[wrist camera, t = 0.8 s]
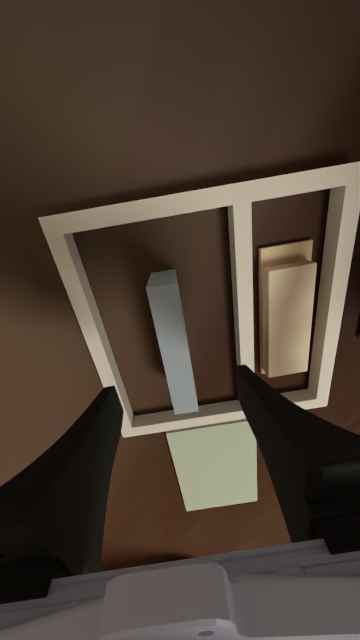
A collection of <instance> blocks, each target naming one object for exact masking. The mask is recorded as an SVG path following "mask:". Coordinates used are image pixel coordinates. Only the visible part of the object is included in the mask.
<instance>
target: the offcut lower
mask: <svg viewBox="0 0 360 640" xmlns="http://www.w3.org/2000/svg"><path fill="white" fill-rule="evenodd" d="M312 245H313V240H310V239H309V240H304V241H298V242H292V243H286V244H281V245H275V246H269V247H263V248H259V335H260V372H261V374H265V371H264V363H263V287H262V268H267V267H273V266H278V265H284V264H289V263H295V262H300V261H306V260H309V261H311V256H312Z"/></svg>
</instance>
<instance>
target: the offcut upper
mask: <svg viewBox="0 0 360 640" xmlns="http://www.w3.org/2000/svg"><path fill="white" fill-rule="evenodd" d="M316 269H317V263H316V262H312V261H309V260H306V261H300V262H295V263H289V264H284V265H278V266H273V267H267V268H262V287H263V363H264V371H265V373H266V374H267V376H268V377H269V378H270V377H276V376H282V375H287V374H293V373H299V372H305V371H307V369H308V358H309V347H310V336H311V324H312V313H313V302H314V291H315V280H316Z"/></svg>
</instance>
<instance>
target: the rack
mask: <svg viewBox="0 0 360 640" xmlns="http://www.w3.org/2000/svg"><path fill="white" fill-rule="evenodd" d="M330 188H331V189H330ZM324 189H330V197H329V206H328V215H327V224H326V233H325V241H324V250H323V259H322V268H321V277H320V286H319V294H318V303H317V312H316V321H315V330H314V339H313V347H312V356H311V365H310V374H309V383H308V389H303V390H296V391H290V392H284V393H280V394H281V395H283V396H284V397H286V398H287V399H288V400H290V401H291V402H293V403H295V404H296V405H298V406H300V407H301V408H303V409H312V408H318V407H324V406H327V403H328V397H329V391H330V385H331V379H332V373H333V367H334V361H335V355H336V349H337V343H338V338H339V332H340V326H341V320H342V314H343V308H344V302H345V296H346V290H347V284H348V278H349V272H350V266H351V260H352V254H353V248H354V242H355V236H356V230H357V224H358V218H359V212H360V162H354V163H348V164H342V165H337V166H331V167H325V168H319V169H314V170H308V171H302V172H297V173H291V174H285V175H279V176H274V177H268V178H262V179H257V180H251V181H245V182H239V183H234V184H228V185H222V186H216V187H211V188H205V189H199V190H194V191H188V192H182V193H176V194H171V195H165V196H159V197H154V198H148V199H142V200H136V201H131V202H125V203H119V204H114V205H108V206H102V207H96V208H91V209H85V210H79V211H73V212H68V213H62V214H56V215H51V216H45V217H39V218H38V219H39V222H40V224H41V227H42V230H43V232H44V235H45V237H46V240H47V242H48V245H49V248H50V250H51V253H52V255H53V258H54V260H55V263H56V266H57V268H58V271H59V273H60V276H61V278H62V281H63V284H64V286H65V289H66V291H67V294H68V297H69V299H70V302H71V304H72V307H73V309H74V312H75V315H76V317H77V320H78V322H79V325H80V327H81V330H82V333H83V335H84V338H85V340H86V343H87V345H88V348H89V351H90V353H91V356H92V358H93V361H94V363H95V366H96V369H97V371H98V374H99V376H100V379H101V381H102V384H103V387H109V386H115V388H116V391H117V394H118V397H119V399H120V402H121V405H122V408H123V410H124V412H123V422H122V429H121V433H122V435H123V438H125V437H131V436H138V435H144V434H151V433H157V432H163V431H170V430H176V429H183V428H189V427H196V426H202V425H209V424H215V423H221V422H228V421H234V420H241V419H246V417H245V415H244V413H243V410H242V408H241V405H240V402H239V400H233V401H226V402H220V403H214V404H207V405H201V406H198V409H199V411H196V412H190V413H183V414H177V415H175V413H174V410H169V411H163V412H156V413H150V414H144V415H137V416H134V415H133V412H132V409H131V406H130V403H129V400H128V397H127V394H126V391H125V388H124V385H123V382H122V379H121V376H120V373H119V370H118V367H117V364H116V362H115V359H114V356H113V353H112V350H111V347H110V344H109V341H108V338H107V335H106V332H105V329H104V326H103V323H102V320H101V317H100V314H99V311H98V308H97V305H96V302H95V299H94V297H93V294H92V291H91V288H90V285H89V282H88V279H87V276H86V273H85V270H84V267H83V264H82V261H81V258H80V255H79V252H78V249H77V246H76V243H75V240H74V237H73V234H72V233H75V232H81V231H87V230H93V229H98V228H104V227H110V226H116V225H122V224H127V223H133V222H139V221H145V220H150V219H156V218H162V217H168V216H174V215H179V214H185V213H191V212H197V211H203V210H208V209H214V208H220V207H226V206H227V207H228V224H229V241H230V258H231V275H232V292H233V309H234V326H235V344H236V361H237V366H238V365H247V366H248V367H249V368H250V369H251V370H252V371H253V372H254V325H253V269H252V213H251V202H255V201H260V200H266V199H272V198H278V197H283V196H289V195H295V194H301V193H307V192H312V191H318V190H324Z"/></svg>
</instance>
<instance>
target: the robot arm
mask: <svg viewBox="0 0 360 640" xmlns="http://www.w3.org/2000/svg"><path fill="white" fill-rule="evenodd" d="M359 338H360V335H359ZM235 377H236V393H237V396H238V399H239V402H240V405H241V408H242V410H243V413H244V415H245V417H246V419H247V421H248V423H249V426H250V428H251V430H252V432H253V434H254V436H255V439H256V441H257V443H258V445H259V447H260V450H261V452H262V455H263V458H264V460H265V463H266V466H267V469H268V472H269V475H270V477H271V480H272V483H273V486H274V489H275V492H276V495H277V498H278V501H279V504H280V507H281V510H282V513H283V516H284V519H285V522H286V526H287V529H288V532H289V535H290V538H291V541H292V543H289V544H283V545H276V546H270V547H263V548H256V549H250V550H243V551H236V552H230V553H223V554H216V555H210V556H203V557H196V558H190V559H183V560H176V561H170V562H163V563H156V564H150V565H143V566H137V567H130V568H123V569H117V570H110V571H103V572H100V567H101V555H102V543H103V533H104V523H105V514H106V506H107V498H108V491H109V484H110V477H111V472H112V467H113V463H114V459H115V455H116V450H117V446H118V442H119V438H120V434H121V429H122V422H123V412H124V410H123V408H122V405H121V402H120V399H119V397H118V394H117V391H116V388H115V386H109V387H104V388H103V390H102V391H101V392H100V393H99V394H98V396H97V397H96V398H95V399H94V401H93V402H92V403H91V404H90V406H89V407H88V408H87V409H86V410H85V412H84V413H83V414H82V415H81V416H80V417H79V418H78V420H77V421H76V422H75V423H74V424H73V425H72V426H71V427H70V428H69V429H68V430H67V432H66V433H65V434H64V435H63V436H62V437H61V438H60V439H58V440H57V441H56V442H55V443H54V444H53V445H52V446H51V447H50V448H49V449H48V450H47V451H45V452H44V453H43V454H42V455H41V456H40V457H38V458H37V459H36V460H35V461H34V462H33V463H31V464H30V465H29V466H28V467H26V468H25V469H24V470H23V471H21V472H20V473H19V474H17V475H16V476H15V477H13V478H12V479H11V480H9V481H8V482H6V483H5V484H4V485H2V486H1V487H0V640H360V435H358V434H355V433H353V432H350V431H348V430H345V429H343V428H341V427H339V426H336V425H334V424H332V423H330V422H328V421H326V420H323V419H321V418H320V417H318V416H316V415H314V414H312V413H310V412H308V411H306V410H305V409H303V408H301V407H300V406H298V405H296V404H295V403H293V402H291V401H290V400H288V399H287V398H286V397H284V396H283V395H281V394H280V393H279V392H277V391H276V390H275V389H273V388H272V387H271V386H270V385H268V384H267V383H266V382H265V381H263V380H262V379H261V378H260V377H259V376H258V375H257V374H255V373H254V372H253V371H252V370H251V369H250V368H249V367H248V366H247V365H238V366H235Z"/></svg>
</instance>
